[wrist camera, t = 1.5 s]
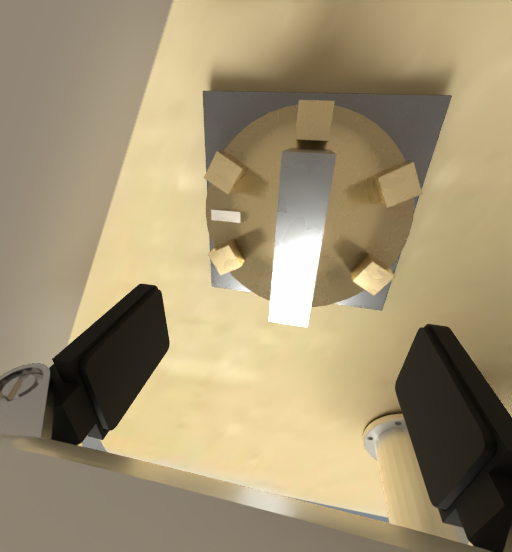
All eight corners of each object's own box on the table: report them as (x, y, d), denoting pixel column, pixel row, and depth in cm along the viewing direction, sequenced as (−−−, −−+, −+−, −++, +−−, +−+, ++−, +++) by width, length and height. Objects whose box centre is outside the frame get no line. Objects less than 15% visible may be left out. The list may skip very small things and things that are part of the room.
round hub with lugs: (433, 110, 20) (520, 90, 12) (375, 302, 29) (400, 373, 20) (213, 104, 23) (152, 84, 15) (218, 281, 32) (182, 335, 23)
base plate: (441, 98, 22) (451, 95, 20) (378, 300, 31) (381, 310, 29) (210, 93, 25) (202, 90, 23) (216, 279, 34) (211, 286, 33)
